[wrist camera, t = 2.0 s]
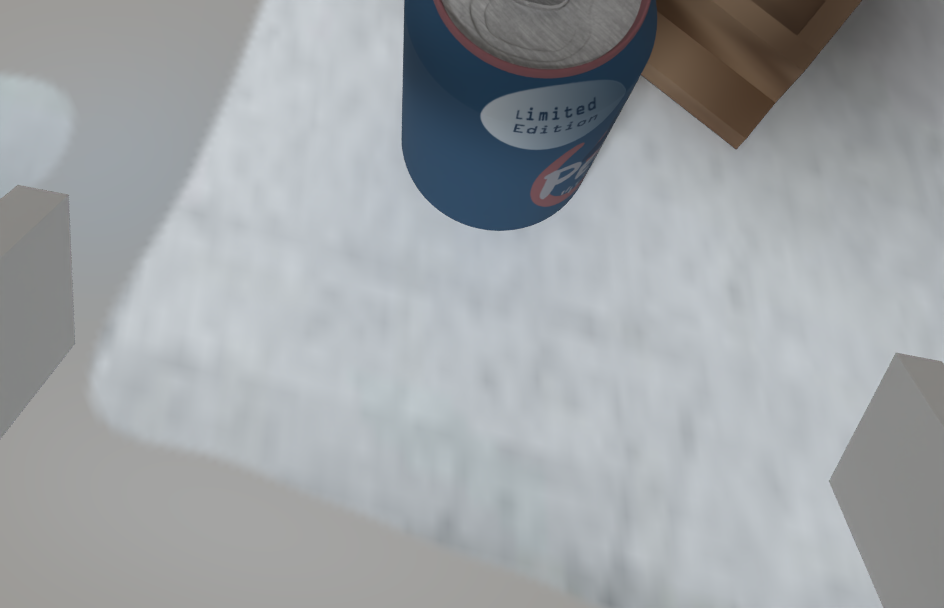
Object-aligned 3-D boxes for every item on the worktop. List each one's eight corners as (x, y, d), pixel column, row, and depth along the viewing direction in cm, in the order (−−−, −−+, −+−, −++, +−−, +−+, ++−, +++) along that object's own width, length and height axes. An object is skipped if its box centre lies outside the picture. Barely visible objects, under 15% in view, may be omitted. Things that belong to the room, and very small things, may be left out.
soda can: (564, 260, 34) (653, 124, 22) (382, 217, 33) (374, 57, 22) (597, 94, 35) (697, -114, 24) (424, 53, 35) (438, -178, 23)
